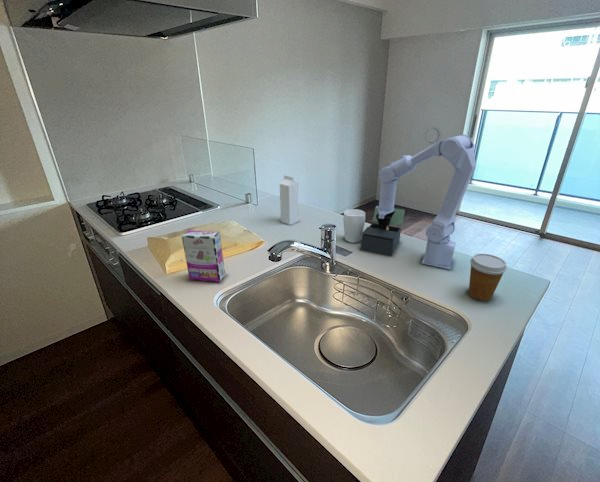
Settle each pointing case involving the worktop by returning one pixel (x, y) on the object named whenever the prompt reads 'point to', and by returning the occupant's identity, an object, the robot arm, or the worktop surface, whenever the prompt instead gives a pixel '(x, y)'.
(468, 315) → the worktop surface
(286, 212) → the milk
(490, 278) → the disposable coffee cup
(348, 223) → the cup
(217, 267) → the candy bar box
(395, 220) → the bin flap
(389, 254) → the bin
